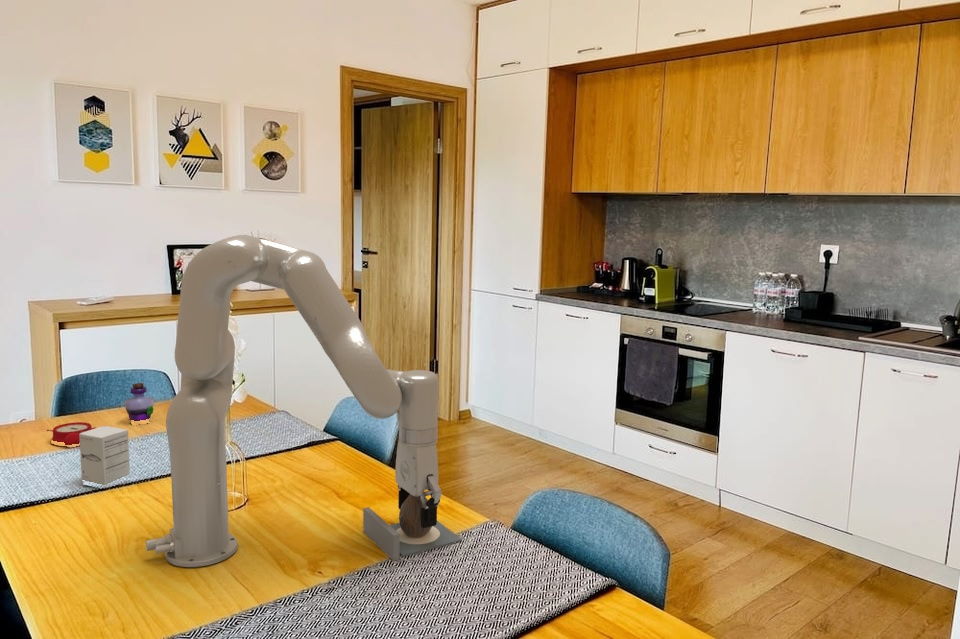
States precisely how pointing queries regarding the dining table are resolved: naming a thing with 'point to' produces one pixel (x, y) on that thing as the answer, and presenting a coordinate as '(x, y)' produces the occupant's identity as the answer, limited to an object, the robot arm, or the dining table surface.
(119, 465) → the supplement box
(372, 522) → the low wall
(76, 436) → the alarm clock
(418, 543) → the mat
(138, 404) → the potion bottle
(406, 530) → the vase
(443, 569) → the dining table surface
